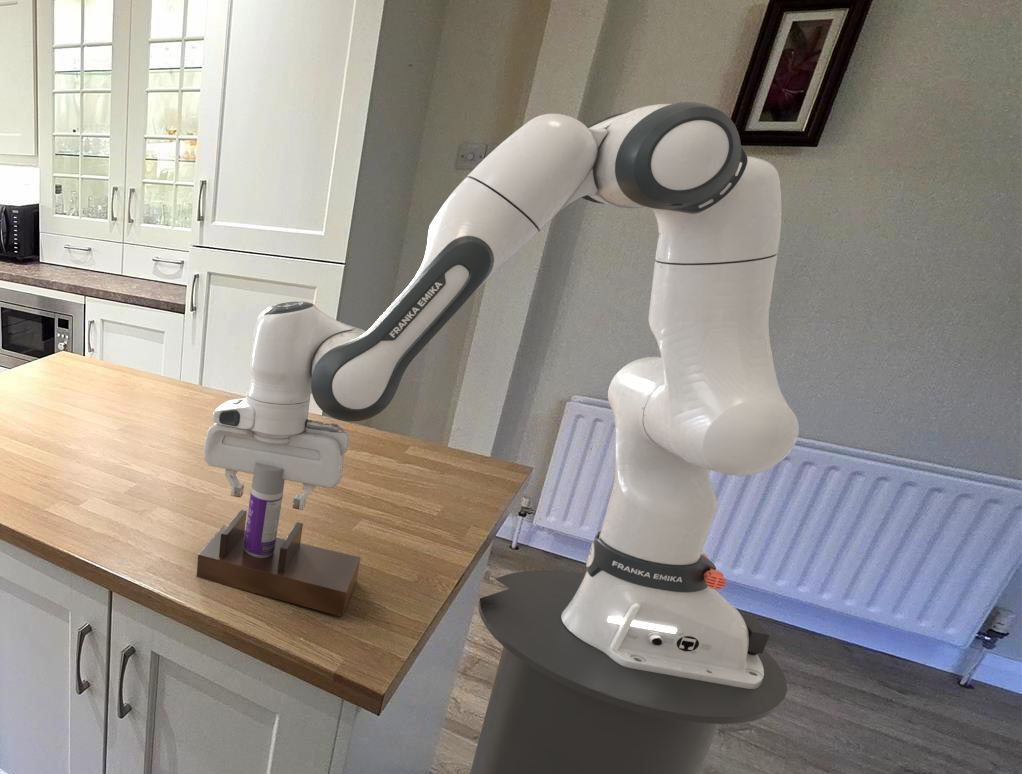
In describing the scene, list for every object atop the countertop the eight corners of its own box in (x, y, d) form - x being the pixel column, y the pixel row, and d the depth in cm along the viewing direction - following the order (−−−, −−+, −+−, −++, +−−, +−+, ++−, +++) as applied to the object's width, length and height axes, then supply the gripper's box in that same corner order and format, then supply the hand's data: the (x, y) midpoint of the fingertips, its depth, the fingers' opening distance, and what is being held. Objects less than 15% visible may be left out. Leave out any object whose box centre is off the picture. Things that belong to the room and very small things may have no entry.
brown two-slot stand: (356, 579, 115) (364, 533, 112) (342, 616, 105) (350, 567, 102) (221, 546, 125) (225, 503, 122) (196, 577, 116) (199, 531, 113)
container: (237, 545, 116) (248, 460, 110) (261, 539, 118) (273, 454, 111) (255, 560, 113) (267, 473, 106) (280, 554, 114) (293, 467, 108)
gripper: (355, 419, 105) (342, 508, 110) (216, 400, 114) (210, 482, 119) (346, 432, 100) (333, 524, 105) (202, 410, 109) (197, 496, 114)
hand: (267, 501), depth 112 cm, fingers open, 8 cm apart
